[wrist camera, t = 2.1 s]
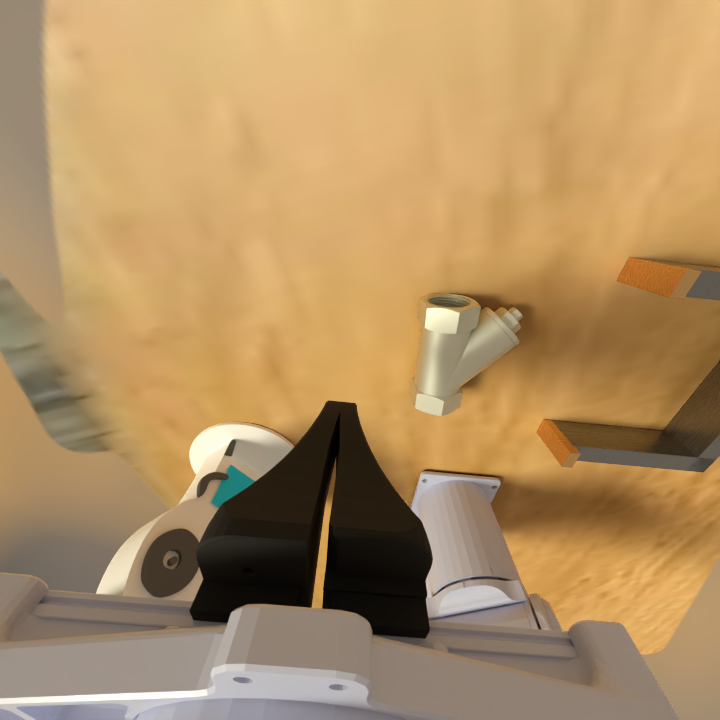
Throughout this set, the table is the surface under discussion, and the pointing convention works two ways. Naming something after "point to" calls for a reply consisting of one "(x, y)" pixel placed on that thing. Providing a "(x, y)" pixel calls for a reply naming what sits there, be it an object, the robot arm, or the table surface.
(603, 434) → the grey u-shaped frame
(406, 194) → the table surface
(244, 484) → the panda figurine
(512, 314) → the pipe fitting
